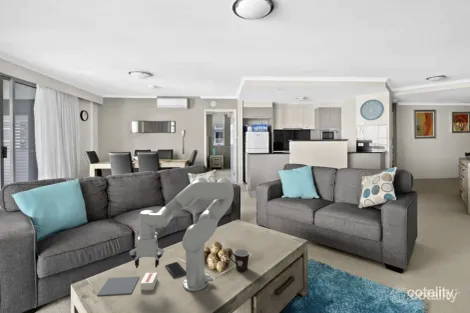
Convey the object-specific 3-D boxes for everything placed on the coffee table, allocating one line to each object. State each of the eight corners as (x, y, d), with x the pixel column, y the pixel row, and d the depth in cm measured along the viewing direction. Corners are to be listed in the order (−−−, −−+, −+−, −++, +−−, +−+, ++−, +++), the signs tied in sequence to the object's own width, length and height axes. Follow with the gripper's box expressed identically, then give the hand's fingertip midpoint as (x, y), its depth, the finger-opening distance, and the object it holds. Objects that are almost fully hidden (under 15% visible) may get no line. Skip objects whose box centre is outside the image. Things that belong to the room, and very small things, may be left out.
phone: (174, 277, 134) (164, 265, 147) (174, 279, 134) (164, 267, 147) (187, 273, 139) (177, 261, 151) (187, 275, 139) (177, 263, 151)
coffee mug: (252, 268, 145) (252, 252, 144) (242, 275, 138) (242, 257, 137) (237, 261, 153) (237, 246, 152) (227, 267, 146) (227, 251, 145)
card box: (157, 279, 134) (157, 272, 134) (152, 290, 125) (152, 282, 125) (146, 279, 134) (146, 272, 134) (140, 290, 125) (140, 282, 125)
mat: (139, 277, 136) (139, 276, 136) (131, 293, 122) (131, 292, 122) (108, 278, 134) (108, 278, 134) (97, 295, 120) (97, 294, 120)
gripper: (165, 231, 132) (165, 262, 133) (131, 231, 130) (132, 262, 131) (163, 237, 124) (162, 270, 126) (127, 237, 122) (127, 270, 124)
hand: (147, 266), depth 129 cm, fingers open, 9 cm apart
